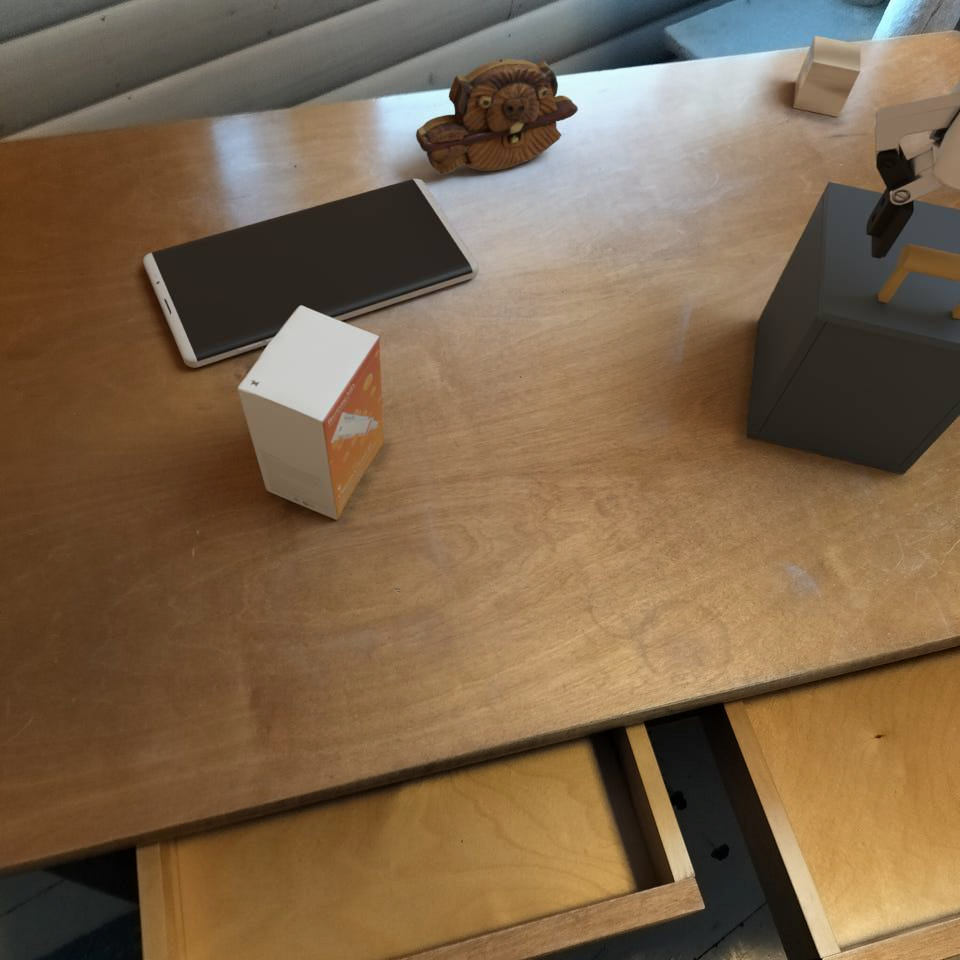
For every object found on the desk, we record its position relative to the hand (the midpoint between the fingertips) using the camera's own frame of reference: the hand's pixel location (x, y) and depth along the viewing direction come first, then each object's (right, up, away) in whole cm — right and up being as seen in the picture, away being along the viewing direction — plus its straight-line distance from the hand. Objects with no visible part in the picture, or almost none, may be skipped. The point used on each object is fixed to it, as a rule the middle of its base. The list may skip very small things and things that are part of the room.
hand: (952, 260), depth 54 cm
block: (+8, +29, +41) cm, 51 cm away
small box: (-42, -13, +13) cm, 46 cm away
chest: (0, -7, +20) cm, 21 cm away
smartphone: (-45, +5, +23) cm, 51 cm away
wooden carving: (-28, +18, +32) cm, 47 cm away
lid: (+1, +1, +7) cm, 7 cm away
